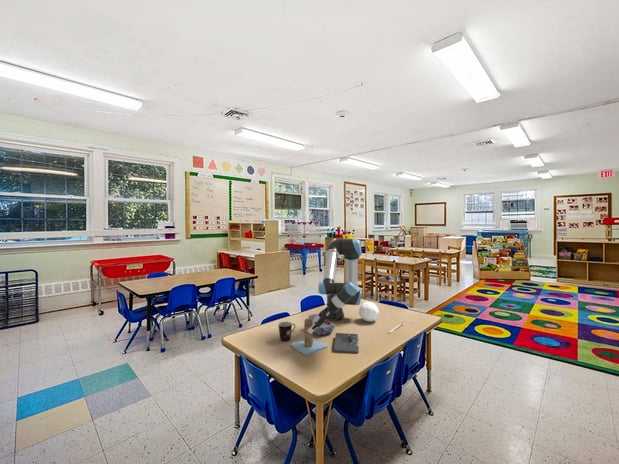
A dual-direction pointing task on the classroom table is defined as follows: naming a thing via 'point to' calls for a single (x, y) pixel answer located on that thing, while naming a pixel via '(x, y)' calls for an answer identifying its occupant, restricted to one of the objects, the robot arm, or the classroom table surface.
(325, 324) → the cell model
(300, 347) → the blue board
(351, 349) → the socket block
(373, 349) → the classroom table surface
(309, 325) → the walnut peg
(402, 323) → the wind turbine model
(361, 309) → the geometric sphere
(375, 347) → the classroom table surface
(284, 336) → the coffee mug
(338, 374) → the classroom table surface
